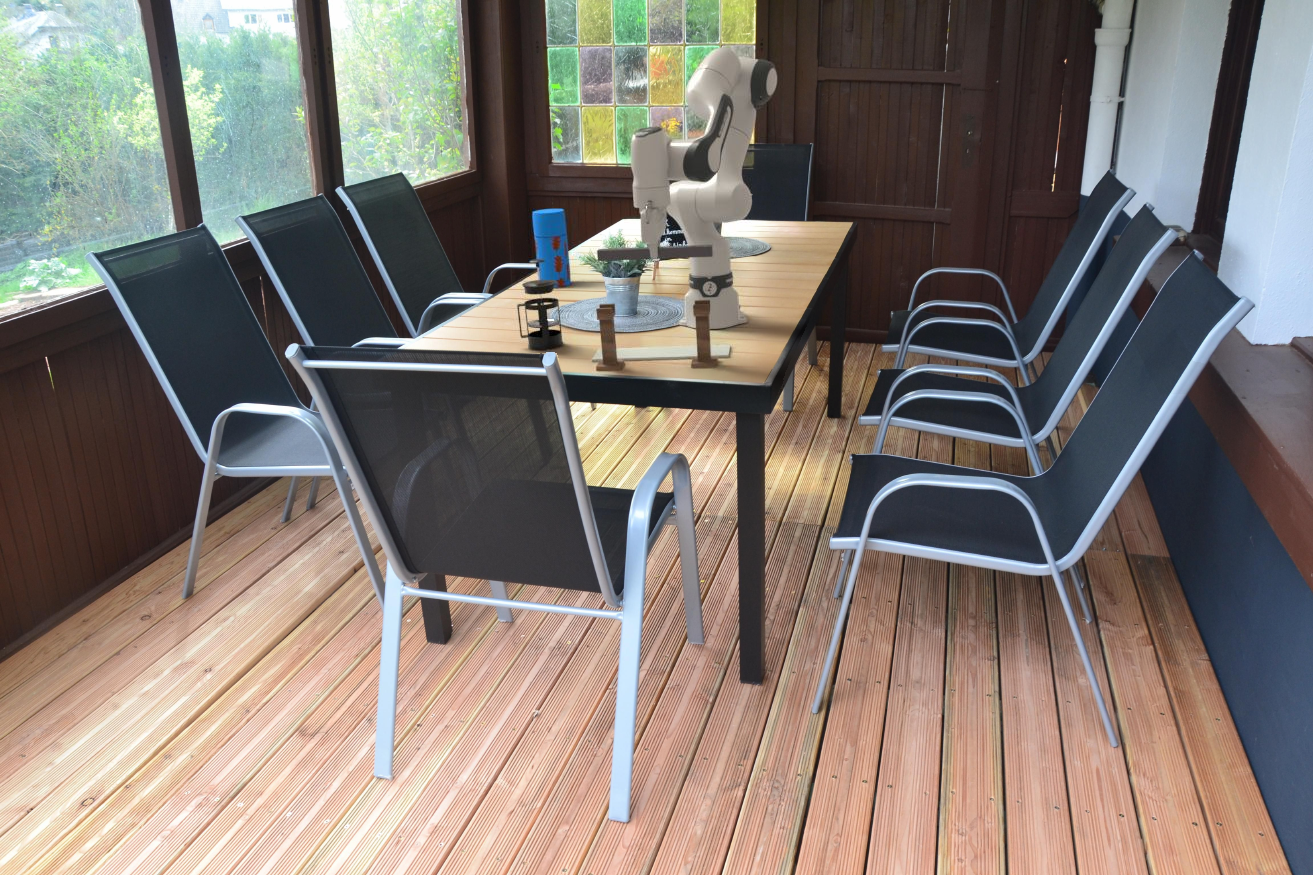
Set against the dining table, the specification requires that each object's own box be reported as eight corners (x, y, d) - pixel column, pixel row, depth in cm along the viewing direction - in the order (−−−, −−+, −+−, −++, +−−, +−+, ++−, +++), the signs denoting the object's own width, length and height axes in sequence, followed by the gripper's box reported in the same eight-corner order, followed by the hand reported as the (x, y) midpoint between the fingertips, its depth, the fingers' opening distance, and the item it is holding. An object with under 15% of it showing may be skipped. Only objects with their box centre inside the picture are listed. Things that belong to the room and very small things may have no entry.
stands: (600, 363, 251) (595, 304, 246) (717, 360, 248) (715, 299, 243) (596, 370, 246) (591, 309, 241) (716, 367, 242) (713, 305, 237)
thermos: (537, 284, 352) (529, 211, 344) (567, 280, 355) (560, 207, 347) (543, 289, 342) (535, 214, 334) (574, 286, 345) (567, 211, 337)
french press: (564, 339, 277) (555, 254, 269) (567, 347, 268) (559, 260, 260) (520, 344, 275) (511, 259, 267) (523, 352, 266) (513, 265, 258)
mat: (598, 351, 263) (598, 348, 263) (730, 346, 259) (730, 344, 258) (591, 361, 254) (591, 359, 253) (728, 357, 249) (728, 355, 249)
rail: (599, 259, 251) (598, 249, 250) (713, 255, 247) (712, 244, 246) (597, 261, 248) (597, 250, 248) (712, 256, 245) (711, 246, 244)
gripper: (660, 203, 233) (663, 263, 238) (669, 193, 252) (672, 249, 257) (632, 205, 234) (636, 265, 238) (644, 194, 253) (647, 250, 257)
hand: (655, 256), depth 248 cm, fingers closed on rail, 2 cm apart
